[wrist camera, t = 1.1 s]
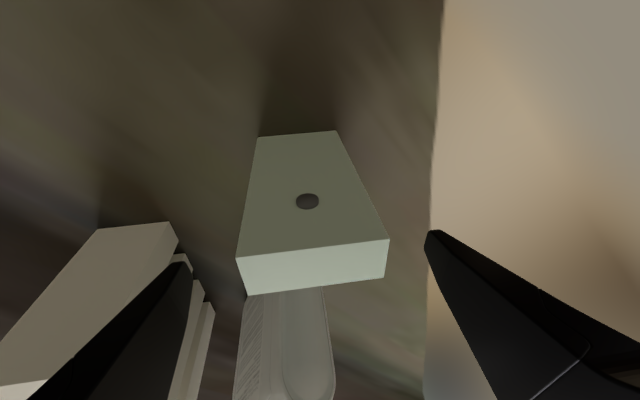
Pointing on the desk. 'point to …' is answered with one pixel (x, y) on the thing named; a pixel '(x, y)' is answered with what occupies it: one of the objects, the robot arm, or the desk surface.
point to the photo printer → (285, 348)
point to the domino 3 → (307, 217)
